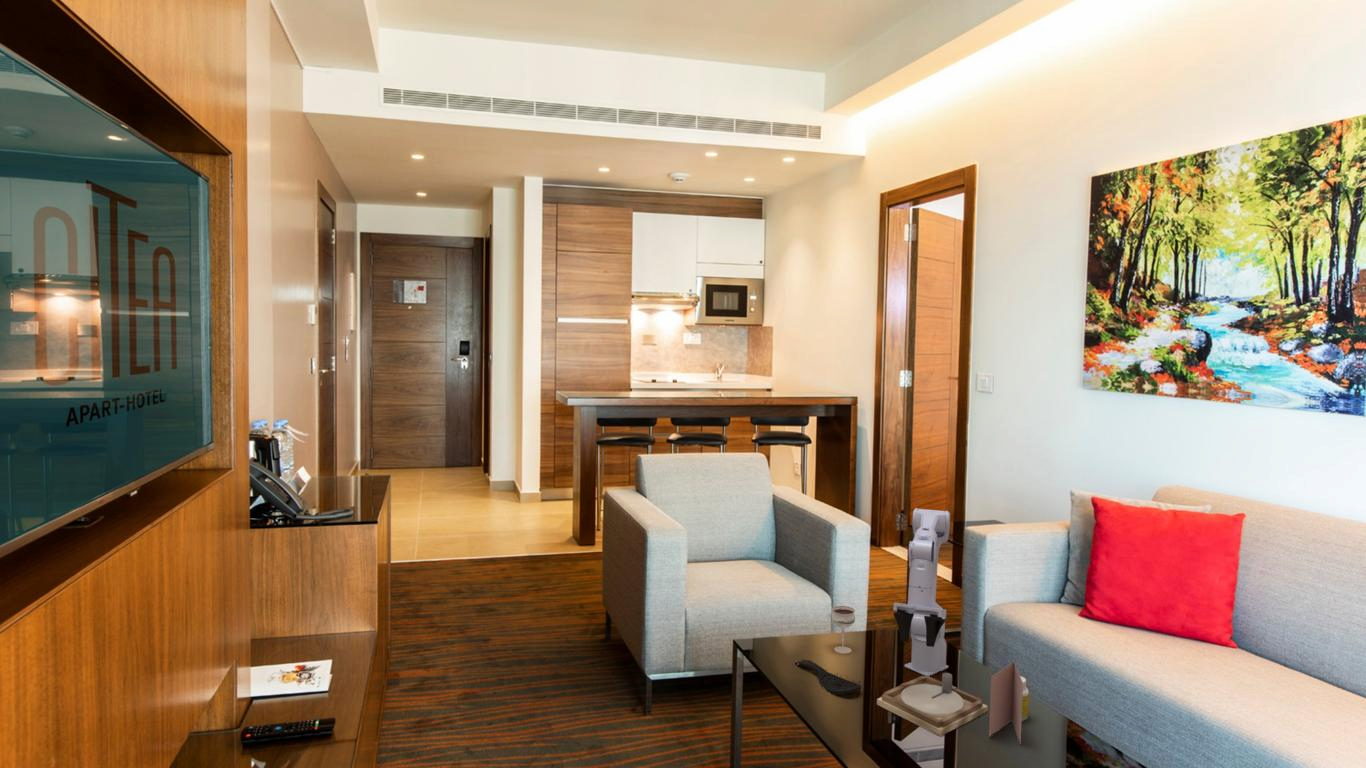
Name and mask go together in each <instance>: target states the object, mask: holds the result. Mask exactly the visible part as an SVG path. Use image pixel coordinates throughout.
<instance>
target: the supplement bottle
mask: <svg viewBox="0 0 1366 768" xmlns="http://www.w3.org/2000/svg"><path fill="white" fill-rule="evenodd" d="M1020 677H1021V679H1022V682H1023V698H1022V720H1023V719H1026V718H1027V717H1028V715H1029V699H1030V698H1029V697H1030V694H1029V693H1030V691H1029V688H1028V687H1027V679H1026V678H1025V677H1024V676H1021V675H1020ZM1027 719H1028V718H1027Z"/></svg>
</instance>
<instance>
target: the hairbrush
mask: <svg viewBox="0 0 1366 768" xmlns="http://www.w3.org/2000/svg"><path fill="white" fill-rule="evenodd" d="M801 660H802V661H799V662H797V663H799V665H801V666H800V667H804V668H808V669H810V670H812V671H814V672H816V674H817V676H818V680H819V681H820V682H819V684H820V683H821V684H820V686H821V685H822V686H823V687H824V688H825V689H826V690H827V691H826V690H825V689H824V688H823V687H822V686H821V687H822V688H823V689H824V690H825V691H826V692H828V693H829V692H830V693H829V694H831V695H832V694H833V695H846V694H850V693H854V692H857V691H860V690H861V689H862V684H861V680H857V681H855V680H850V679H852V677H850V676H847V675H842V674H841V673H840V674H839V673H836V674H834V673H832V672H829V671H831V670H830V669H829V671H828V670H827V669H824V668H823V667H822V666H820V665H818V664H817V663H815V662H814V661H812V660H808V659H801ZM799 665H798V666H799ZM838 675H839V676H838ZM843 676H845V678H843ZM848 677H849V678H848Z"/></svg>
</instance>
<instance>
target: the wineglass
mask: <svg viewBox="0 0 1366 768" xmlns="http://www.w3.org/2000/svg"><path fill="white" fill-rule="evenodd" d="M831 611H832V613H831V619H832V623H834V625H835V626H837V627H838V628H840V629H841V646H840V645H839V646H836V647H834V649H833V650H834V651H835V652H836V653H839V654H849V653H851V652H852V648H850V647H848V646H845V630H846V629H847V628H850V627H851V626H852V625H854V623H855V621H856V615H855V613H856V609H854V607H851V606H847V605H846V606H845V605H838V606H836V605H835V606H834V607H832V608H831Z"/></svg>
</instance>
